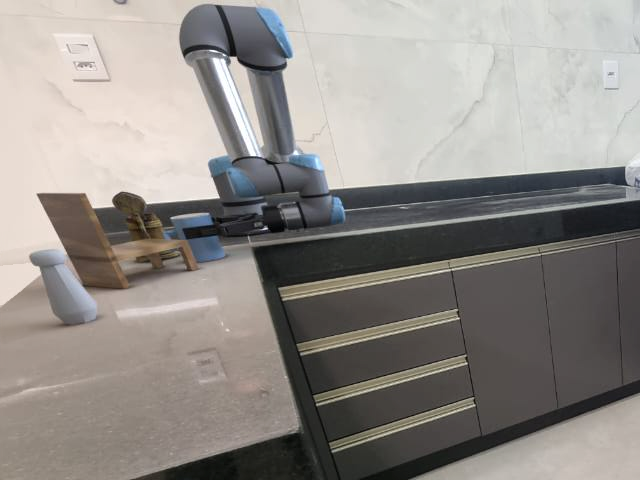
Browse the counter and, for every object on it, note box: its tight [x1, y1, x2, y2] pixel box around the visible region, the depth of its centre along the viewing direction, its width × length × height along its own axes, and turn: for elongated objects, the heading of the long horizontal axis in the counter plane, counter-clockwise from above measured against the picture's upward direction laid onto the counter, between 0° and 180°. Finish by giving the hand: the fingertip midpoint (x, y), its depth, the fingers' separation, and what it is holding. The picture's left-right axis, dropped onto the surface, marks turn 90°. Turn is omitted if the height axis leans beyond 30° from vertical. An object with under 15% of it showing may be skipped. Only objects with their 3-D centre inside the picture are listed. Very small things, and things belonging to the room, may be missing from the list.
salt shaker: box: [28, 248, 99, 326], centre depth 94 cm, size 6×6×13 cm
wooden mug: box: [111, 191, 179, 263], centre depth 136 cm, size 9×14×18 cm, turn 35°
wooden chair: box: [36, 192, 200, 290], centre depth 120 cm, size 16×14×20 cm
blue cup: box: [163, 212, 226, 263], centre depth 135 cm, size 11×8×11 cm
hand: (185, 230), depth 134 cm, fingers open, 13 cm apart
